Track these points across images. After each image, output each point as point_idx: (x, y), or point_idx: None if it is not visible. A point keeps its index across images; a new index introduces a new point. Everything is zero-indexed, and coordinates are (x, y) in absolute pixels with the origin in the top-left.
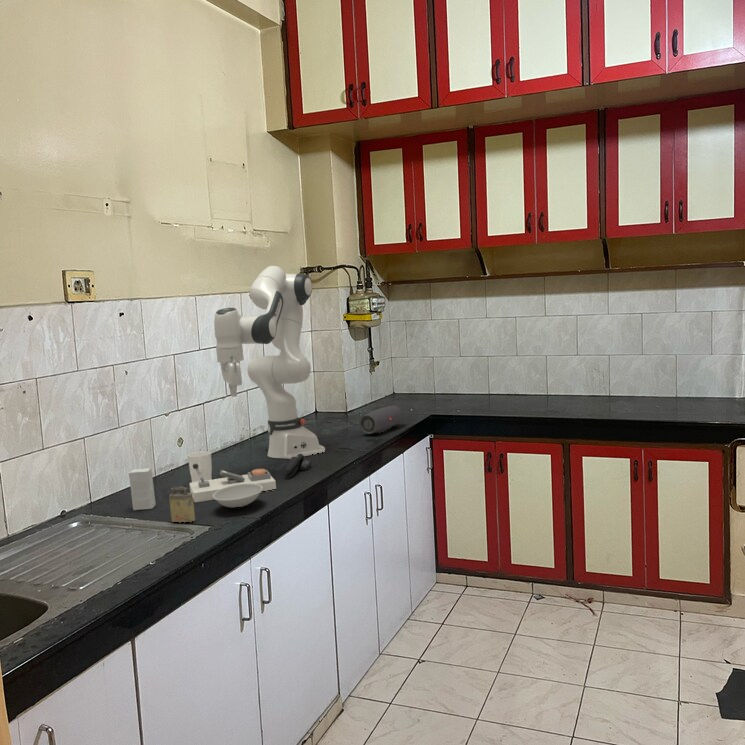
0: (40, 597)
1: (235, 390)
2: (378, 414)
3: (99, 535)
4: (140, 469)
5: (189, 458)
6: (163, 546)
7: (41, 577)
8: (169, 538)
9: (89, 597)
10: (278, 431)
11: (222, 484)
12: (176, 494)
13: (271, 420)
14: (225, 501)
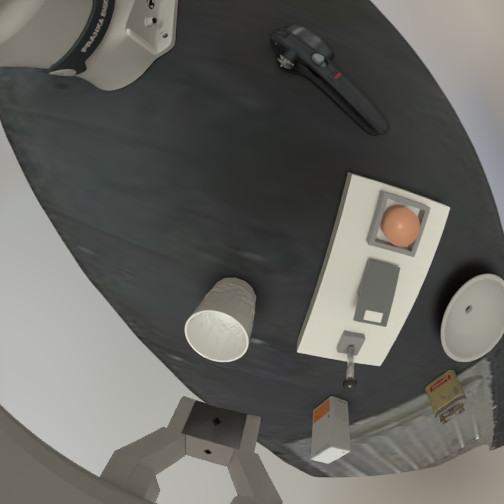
0: (464, 452)
1: (258, 466)
2: None
3: (389, 441)
4: (324, 455)
5: (227, 357)
6: (478, 401)
7: (435, 458)
8: (468, 396)
9: (492, 432)
10: (97, 47)
11: None
12: (447, 413)
13: (57, 59)
14: (486, 347)
